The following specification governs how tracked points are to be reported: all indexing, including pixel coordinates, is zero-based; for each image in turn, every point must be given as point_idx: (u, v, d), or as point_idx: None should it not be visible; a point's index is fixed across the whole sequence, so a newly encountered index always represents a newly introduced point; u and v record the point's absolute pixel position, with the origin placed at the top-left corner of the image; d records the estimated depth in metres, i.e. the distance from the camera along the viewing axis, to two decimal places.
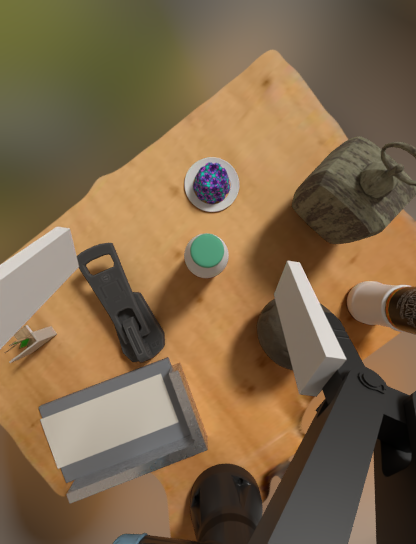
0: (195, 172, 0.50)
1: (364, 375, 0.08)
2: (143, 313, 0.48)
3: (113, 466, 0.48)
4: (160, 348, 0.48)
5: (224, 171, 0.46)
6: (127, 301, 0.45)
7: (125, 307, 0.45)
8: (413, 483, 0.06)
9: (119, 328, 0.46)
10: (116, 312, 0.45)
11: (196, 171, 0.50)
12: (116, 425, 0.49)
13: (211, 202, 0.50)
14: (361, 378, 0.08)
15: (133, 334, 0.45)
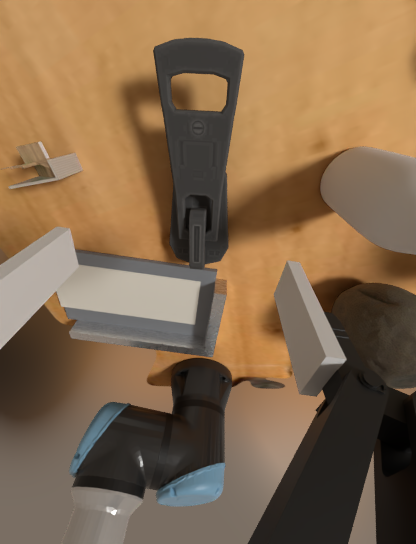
0: None
1: (364, 375, 0.08)
2: None
3: (118, 327, 0.48)
4: (217, 260, 0.36)
5: None
6: (211, 187, 0.27)
7: (204, 194, 0.28)
8: (413, 483, 0.06)
9: (181, 217, 0.30)
10: (187, 194, 0.28)
11: None
12: (132, 301, 0.44)
13: None
14: (361, 378, 0.08)
15: (198, 236, 0.30)
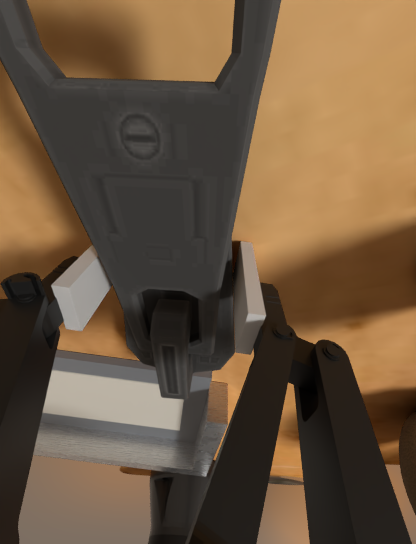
0: None
1: (276, 328, 0.09)
2: None
3: (66, 429, 0.32)
4: (214, 368, 0.20)
5: None
6: (196, 277, 0.11)
7: (179, 289, 0.12)
8: (321, 421, 0.07)
9: (135, 323, 0.14)
10: (141, 289, 0.12)
11: None
12: (81, 403, 0.28)
13: None
14: (275, 331, 0.09)
15: (173, 362, 0.14)
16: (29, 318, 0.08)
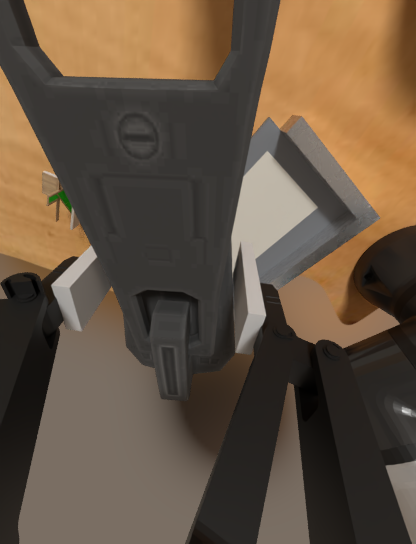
0: None
1: (276, 328, 0.09)
2: None
3: None
4: (214, 369, 0.20)
5: None
6: (195, 278, 0.11)
7: (178, 290, 0.12)
8: (321, 421, 0.07)
9: (134, 324, 0.14)
10: (140, 290, 0.12)
11: None
12: (236, 246, 0.38)
13: None
14: (275, 331, 0.09)
15: (173, 363, 0.14)
16: (29, 318, 0.08)
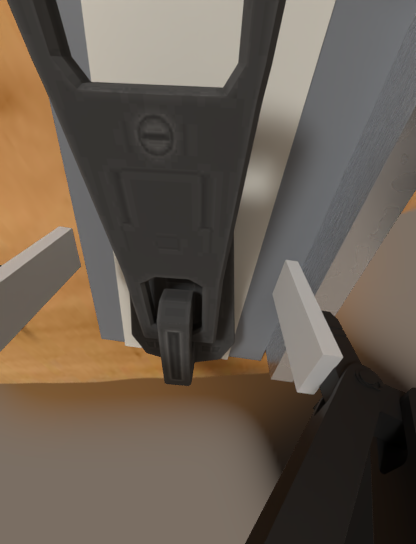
0: None
1: (360, 372, 0.08)
2: None
3: None
4: (215, 357, 0.21)
5: None
6: (201, 266, 0.12)
7: (185, 277, 0.13)
8: (409, 480, 0.06)
9: (142, 311, 0.15)
10: (149, 277, 0.13)
11: None
12: None
13: None
14: (358, 376, 0.08)
15: (177, 348, 0.15)
16: None
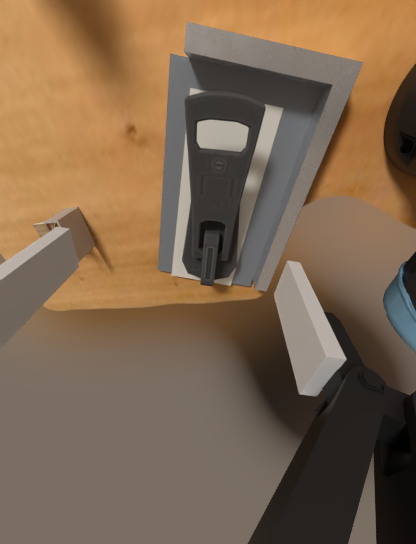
0: None
1: (364, 374, 0.08)
2: None
3: (269, 236, 0.35)
4: (225, 276, 0.38)
5: None
6: (226, 214, 0.29)
7: (219, 220, 0.30)
8: (413, 483, 0.06)
9: (196, 239, 0.32)
10: (203, 219, 0.30)
11: None
12: None
13: None
14: (361, 378, 0.08)
15: (211, 257, 0.33)
16: None
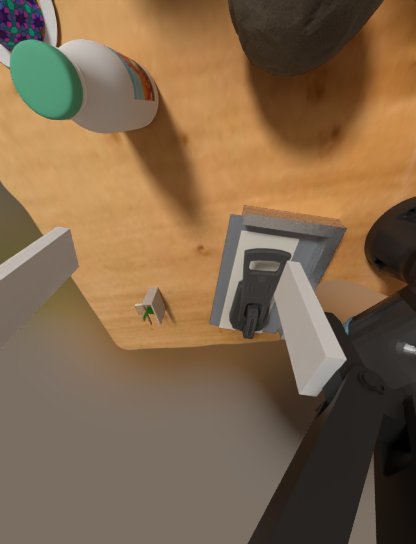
0: None
1: (364, 374, 0.08)
2: None
3: None
4: (259, 330, 0.54)
5: None
6: (264, 300, 0.46)
7: (259, 303, 0.46)
8: (413, 483, 0.06)
9: (242, 312, 0.49)
10: (249, 302, 0.46)
11: None
12: None
13: None
14: (361, 378, 0.08)
15: (252, 323, 0.49)
16: None
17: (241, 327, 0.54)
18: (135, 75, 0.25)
